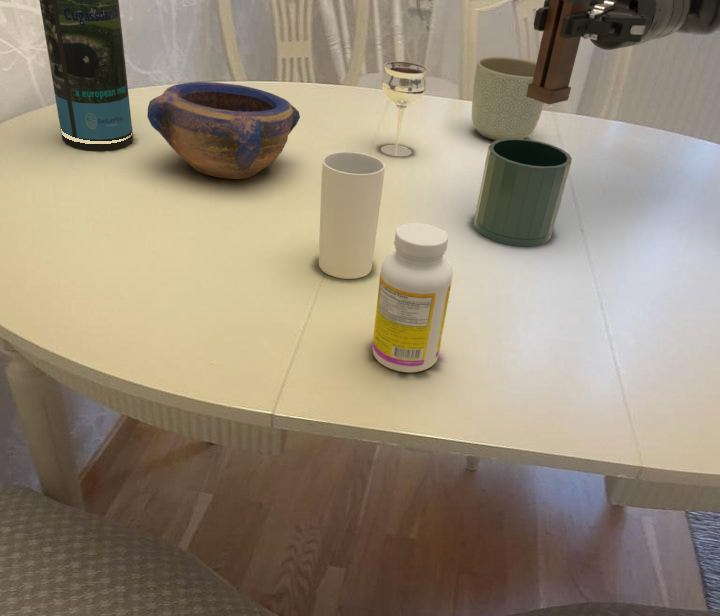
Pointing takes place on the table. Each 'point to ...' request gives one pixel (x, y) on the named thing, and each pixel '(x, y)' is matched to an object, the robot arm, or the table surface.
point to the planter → (504, 98)
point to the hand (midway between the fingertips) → (551, 23)
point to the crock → (521, 191)
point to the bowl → (223, 126)
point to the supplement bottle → (412, 299)
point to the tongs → (556, 54)
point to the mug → (349, 213)
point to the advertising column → (88, 71)
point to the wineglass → (402, 94)
